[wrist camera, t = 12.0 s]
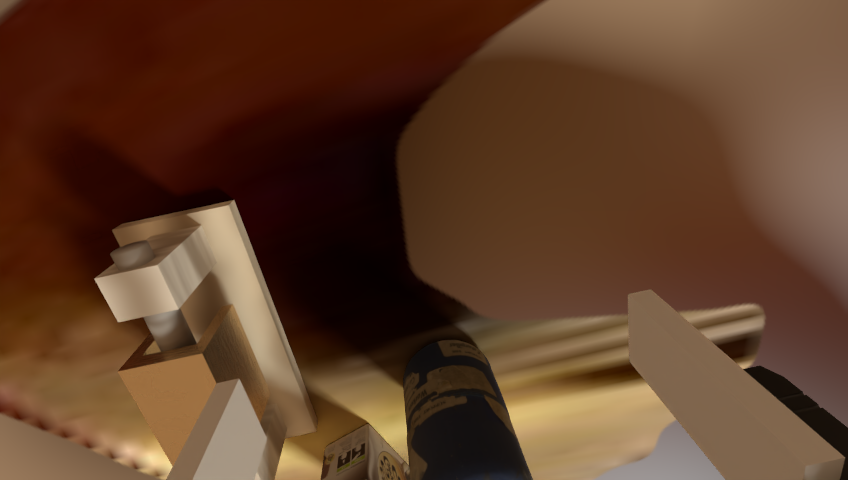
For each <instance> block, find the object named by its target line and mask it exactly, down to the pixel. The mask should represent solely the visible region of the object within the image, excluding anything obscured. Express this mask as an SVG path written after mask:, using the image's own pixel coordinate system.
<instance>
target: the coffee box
mask: <svg viewBox="0 0 848 480" xmlns="http://www.w3.org/2000/svg"><path fill="white" fill-rule="evenodd" d="M321 480H410V469H409V466H408V465H407V464H406V463H405V462H404V460H403V459H402V458H401V457H400V456H399V455H398V454H397V453H396V452H395V451H394V450H393V449H392V448H391V447H390V446H389V445H388V444H387V443H386V442H385V440H384V439H383V438H382V437H381V436H380V435H379V434H378V433H377V432H376V431H375V430H374V429H373V428H372V427H371V426H370V425H369V424H366V425H364V426H363V427H361V428H359V429H357V430H355V431H353V432H352V433H350V434H348V435H346V436H344V437H342V438H341V439H339V440H337V441H335V442H333V443H331V444H330V445H328V446H326V448H325V452H324V460H323V468H322V475H321Z"/></svg>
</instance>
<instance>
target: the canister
mask: <svg viewBox="0 0 848 480" xmlns="http://www.w3.org/2000/svg"><path fill="white" fill-rule="evenodd" d="M403 387H404V400H405V413H406V424H407V446H408V456H409V469H410V480H533V479H532V476H531V473H530V471H529V469H528V466H527V464H526V461H525V458H524V456H523V453H522V450H521V448H520V445H519V442H518V439H517V437H516V434H515V431H514V429H513V426H512V423H511V420H510V416H509V413H508V410H507V408H506V405H505V402H504V400H503V397H502V394H501V392H500V389H499V387H498V384H497V382H496V380H495V377H494V375H493V372H492V370H491V366H490V364H489V362H488V360H487V358H486V357H485V356H484V354H483V353H482V352H481V351H480V350H479V349H477V348H476V347H474V346H473V345H471V344H469V343H466V342H463V341H459V340H443V341H438V342H435V343H432V344H429V345H427V346H425V347H424V348H422V349H421V350H420V351H418V352H417V353H416V354H415V355H414V356H413V357H412V359H411V360H410V361H409V363H408V365H407V367H406V370H405V373H404V378H403Z"/></svg>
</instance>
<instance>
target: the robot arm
mask: <svg viewBox="0 0 848 480" xmlns="http://www.w3.org/2000/svg"><path fill="white" fill-rule="evenodd" d="M628 323H629V361H630V362H631V364H632V365H633V366H634V367H635V369H636V370H637V371H638V372H639V373H640V375H641V376H642V377H643V378H644V380H645V381H646V382H647V383H648V385H649V386H650V387H651V388H652V390H653V391H654V392H655V393H656V394H657V396H658V397H659V398H660V399H661V401H662V402H663V403H664V404H665V406H666V407H667V408H668V409H669V410H670V412H671V413H672V414H673V415H674V417H675V418H676V419H677V420H678V422H679V423H680V424H681V425H682V427H683V428H684V429H685V430H686V431H687V433H688V434H689V435H690V436H691V438H692V439H693V440H694V441H695V443H696V444H697V445H698V446H699V448H700V449H701V450H702V451H703V452H704V454H705V455H706V456H707V457H708V459H709V460H710V461H711V462H712V464H713V465H714V466H715V467H716V468H717V470H718V471H719V472H720V473H721V475H722V476H723V477H724V478H725V480H848V428H847V427H846V426H845V425H844V424H842V423H841V422H840V421H839V420H837V419H836V418H835V417H833V416H832V415H831V414H830V413H828V412H827V411H826V410H825V409H823V408H820V407H819V406H818V404H817V403H816V402H814V401H813V400H812V399H811V398H810V397H808V396H807V395H804V394H803V392H802V391H801V390H800V389H798V388H797V387H796V386H795V385H793V384H792V383H791V382H790V381H788V380H787V379H786V378H784V377H783V376H781V375H779V374H776V373H774V372H772V371H770V370H768V369H766V368H764V367H762V366H756V367H751V368H747V369H742V368H741V367H740V366H739V365H737V364H736V363H735V362H734V361H733V360H732V359H731V358H729V357H728V356H727V355H726V354H725V353H724V352H722V351H721V350H720V349H719V348H718V347H717V346H716V345H714V344H713V343H712V342H711V341H710V340H709V339H707V338H706V337H705V336H704V335H703V334H702V333H701V332H699V331H698V330H697V329H696V328H695V327H694V326H692V325H691V324H690V323H689V322H688V321H687V320H685V319H684V318H683V317H682V316H681V315H680V314H679V313H677V312H676V311H675V310H674V309H673V308H672V307H670V306H669V305H668V304H667V303H666V302H665V301H664V300H662V299H661V298H660V297H659V296H658V295H657V294H655V293H654V292H653V291H652V290H646V291H641V292H637V293H632V294H628ZM266 441H267V437H266V435H265V433H264V431H263V429H262V427H261V424H260V422H259V420H258V418H257V416H256V414H255V411H254V409H253V407H252V405H251V403H250V401H249V398H248V396H247V394H246V392H245V390H244V388H243V385H242V383H241V381H240V379H234V380H230V381H225V382H220V383H217V384H216V385H215V387H214V389H213V391H212V393H211V395H210V397H209V399H208V401H207V403H206V405H205V406H204V408H203V410H202V412H201V414H200V416H199V418H198V420H197V422H196V424H195V426H194V427H193V429H192V431H191V433H190V435H189V437H188V439H187V441H186V443H185V445H184V447H183V448H182V450H181V452H180V454H179V456H178V458H177V460H176V462H175V464H174V466H173V467H172V469H171V471H170V473H169V475H168V477H167V479H166V480H254V479H255V476H256V473H257V470H258V467H259V464H260V460H261V457H262V454H263V451H264V448H265V444H266Z"/></svg>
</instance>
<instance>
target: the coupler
mask: <svg viewBox="0 0 848 480" xmlns="http://www.w3.org/2000/svg"><path fill="white" fill-rule="evenodd" d="M118 373H119V375H120V376H121V378H122V380H123V382H124V383H125V385H126V387H127V388H128V390H129V392H130V394H131V395H132V397H133V399H134V401H135V402H136V404H137V406H138V407H139V409H140V411H141V413H142V414H143V416H144V418H145V419H146V421H147V423H148V425H149V426H150V428H151V430H152V431H153V433H154V435H155V437H156V438H157V440H158V442H159V443H160V445H161V447H162V449H163V450H164V452H165V454H166V455H167V457H168V459H169V461H170V462H171V464H172V466H174V464H175V462H176V460H177V458H178V456H179V454H180V452H181V450H182V448H183V447H184V445H185V443H186V441H187V439H188V437H189V435H190V433H191V431H192V429H193V427H194V426H195V424H196V422H197V420H198V418H199V416H200V414H201V412H202V410H203V408H204V406H205V405H206V403H207V401H208V399H209V397H210V395H211V393H212V391H213V389H214V387H215V385H216V384H217V383H220V382H225V381H230V380H234V379H240V381H241V383H242V385H243V388H244V390H245V392H246V394H247V396H248V398H249V401H250V403H251V405H252V407H253V409H254V411H255V414H256V416H257V418H258V420H259V422H261V419H262V416H263V413H264V410H265V407H266V404H267V402H268V399H269V396H270V390H269V388H268V385H267V383H266V381H265V378H264V376H263V374H262V371H261V369H260V367H259V364H258V362H257V359H256V357H255V355H254V352H253V350H252V348H251V345H250V343H249V341H248V338H247V336H246V333H245V331H244V329H243V326H242V324H241V322H240V319H239V317H238V315H237V312H236V310H235V307H234V305H233V304H231V305H226V306H222V307H221V308H220V310H219V311H218V313H217V314H216V316H215V317H214V319H213V320H212V322H211V323H210V325H209V326H208V328H207V329H206V331H205V332H204V334H203V335H202V337H201V338H200V340H199V341H198V343H197V344H195V345H190V346H185V347H181V348H176V349H171V350H167V351H162V352H161V351H160V349H159V347H158V345H157V343H156V341H155V339H154V337H153V335H152V333H150V335H149V336H148V337H147V338H146V339H145V340H144V342H143V343H142V344H141V345H140V346H139V347H138V349H137V350H136V351H135V352H134V353H133V354H132V356H131V357H130V358H129V359H128V360H127V361H126V362H125V364H124V365H123V366H122V367H121V368H120V369H119V371H118Z"/></svg>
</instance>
